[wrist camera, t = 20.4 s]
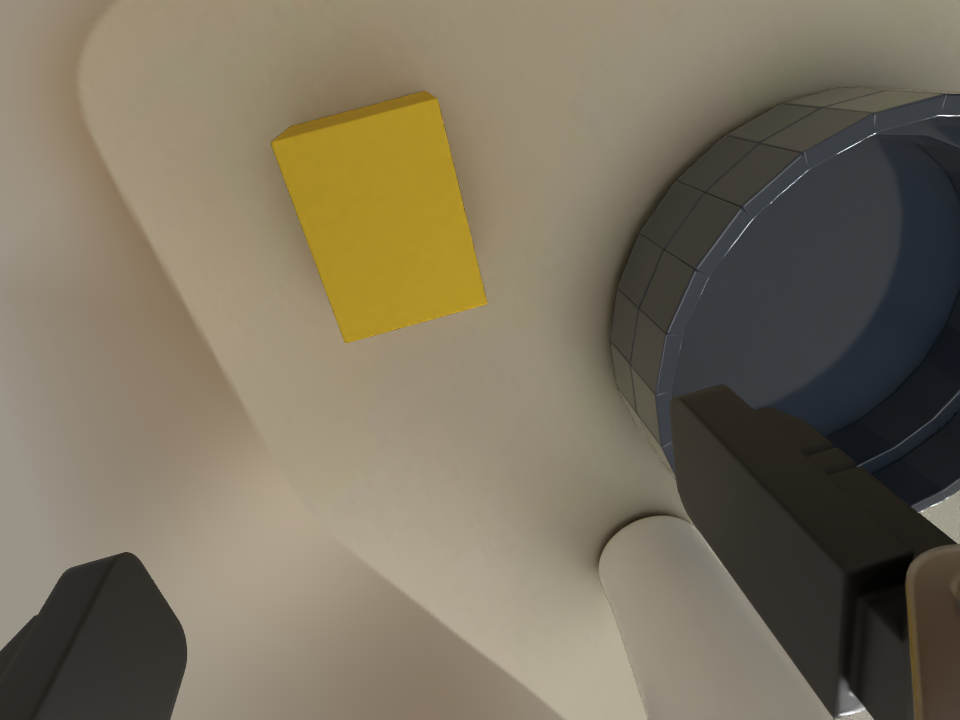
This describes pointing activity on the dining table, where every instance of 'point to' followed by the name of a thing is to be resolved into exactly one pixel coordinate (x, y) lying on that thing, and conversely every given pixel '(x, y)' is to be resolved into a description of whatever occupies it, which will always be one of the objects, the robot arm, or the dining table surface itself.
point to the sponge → (382, 214)
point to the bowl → (812, 283)
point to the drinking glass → (696, 631)
